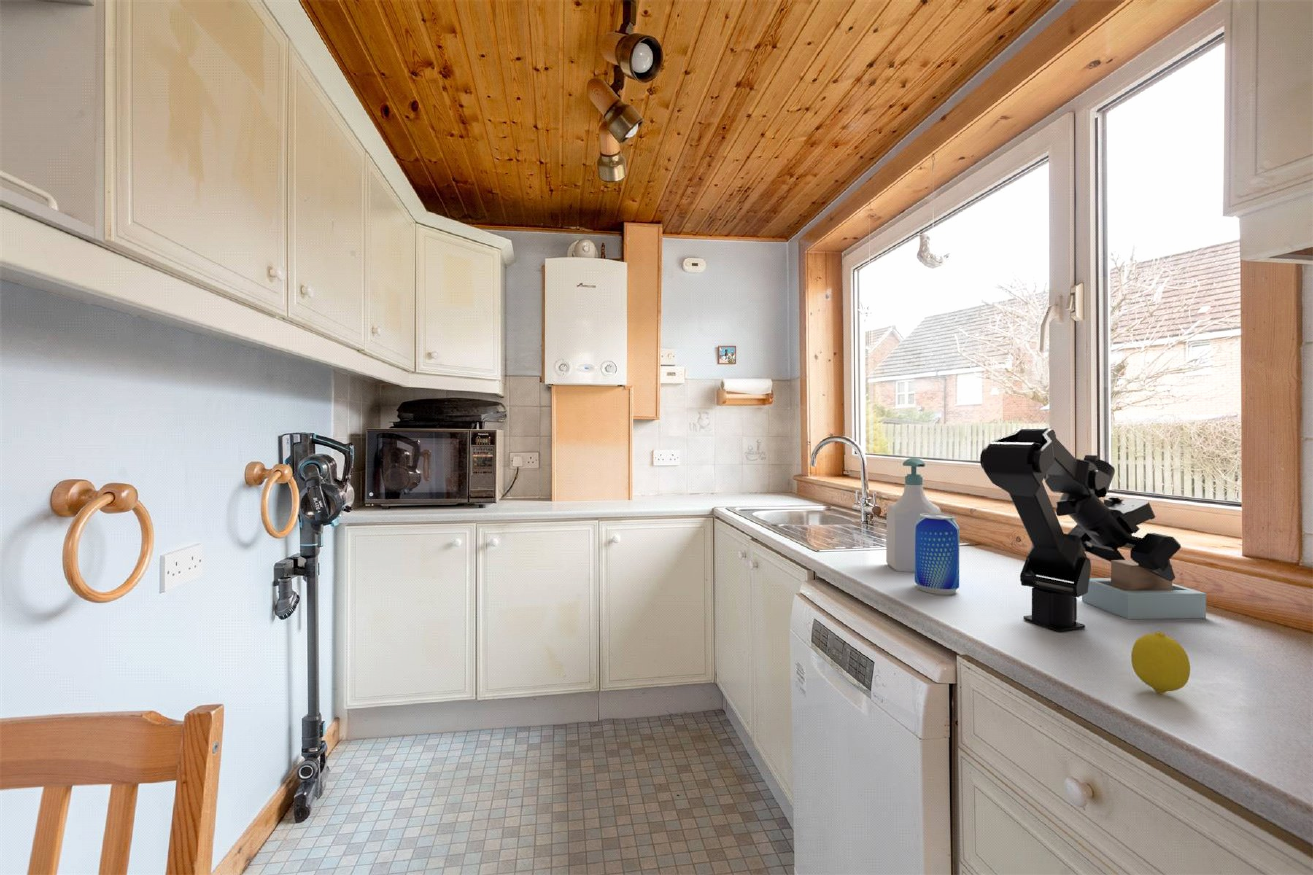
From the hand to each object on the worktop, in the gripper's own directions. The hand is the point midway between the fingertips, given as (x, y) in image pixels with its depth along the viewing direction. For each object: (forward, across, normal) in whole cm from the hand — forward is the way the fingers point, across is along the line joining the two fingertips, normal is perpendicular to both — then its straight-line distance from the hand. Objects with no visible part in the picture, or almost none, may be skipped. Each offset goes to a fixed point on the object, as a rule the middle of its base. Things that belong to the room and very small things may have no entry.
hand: (1148, 572), depth 100 cm
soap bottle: (-16, +30, +26) cm, 43 cm away
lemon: (-15, -31, +26) cm, 43 cm away
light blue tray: (+4, 0, +6) cm, 7 cm away
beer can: (-18, +13, +29) cm, 37 cm away
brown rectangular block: (+4, 0, +6) cm, 7 cm away
